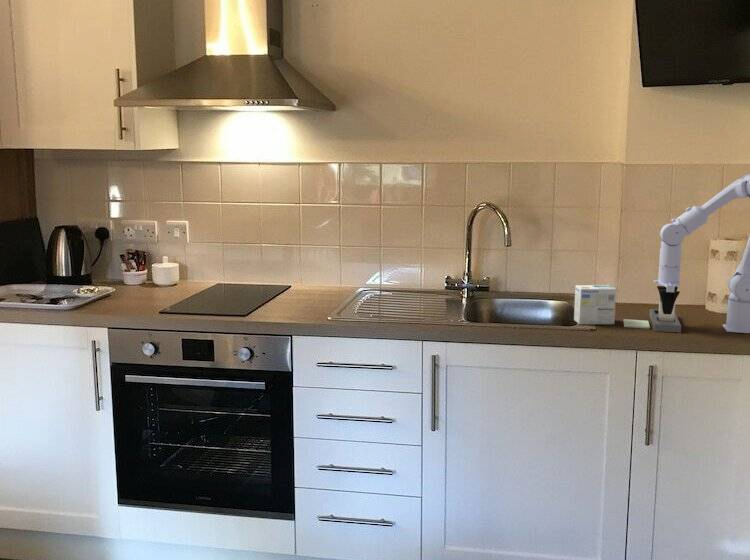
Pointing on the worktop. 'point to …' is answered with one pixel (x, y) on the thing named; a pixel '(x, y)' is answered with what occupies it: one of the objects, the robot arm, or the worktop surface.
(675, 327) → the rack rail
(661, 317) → the white block
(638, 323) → the mat
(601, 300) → the light bulb box
